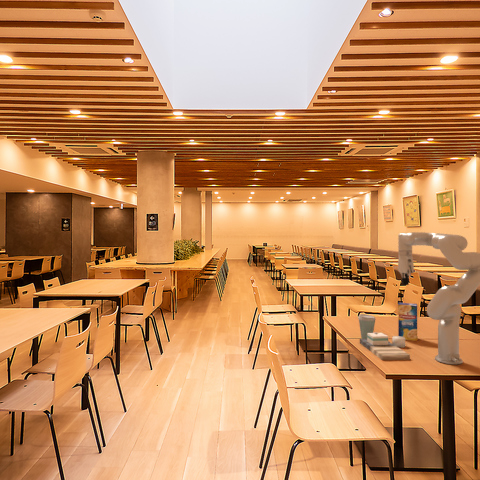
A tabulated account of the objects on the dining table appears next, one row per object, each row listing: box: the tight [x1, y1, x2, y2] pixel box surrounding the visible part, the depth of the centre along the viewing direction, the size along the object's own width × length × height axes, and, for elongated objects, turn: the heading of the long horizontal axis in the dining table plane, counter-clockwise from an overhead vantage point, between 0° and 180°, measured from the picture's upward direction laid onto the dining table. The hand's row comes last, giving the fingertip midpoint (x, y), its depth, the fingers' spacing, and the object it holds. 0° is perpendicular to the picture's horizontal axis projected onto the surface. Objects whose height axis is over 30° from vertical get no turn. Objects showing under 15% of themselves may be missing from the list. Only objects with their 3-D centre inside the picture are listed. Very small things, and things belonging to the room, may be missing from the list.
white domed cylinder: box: [391, 335, 406, 349], centre depth 221 cm, size 7×7×5 cm
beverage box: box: [397, 302, 418, 342], centre depth 236 cm, size 7×11×22 cm, turn 66°
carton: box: [367, 331, 389, 345], centre depth 218 cm, size 8×9×6 cm
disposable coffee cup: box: [357, 313, 376, 339], centre depth 236 cm, size 11×11×15 cm
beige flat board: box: [359, 338, 411, 361], centre depth 211 cm, size 32×15×2 cm, turn 2°
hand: (405, 284), depth 219 cm, fingers closed
